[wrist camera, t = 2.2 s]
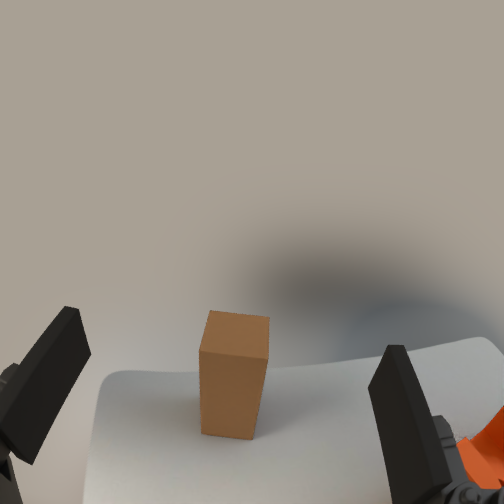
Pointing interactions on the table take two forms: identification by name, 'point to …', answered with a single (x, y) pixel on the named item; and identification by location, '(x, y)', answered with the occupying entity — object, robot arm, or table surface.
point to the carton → (232, 373)
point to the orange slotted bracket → (485, 454)
